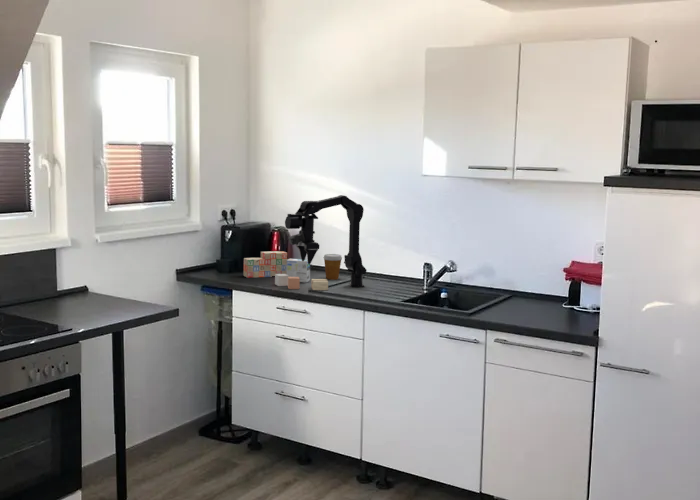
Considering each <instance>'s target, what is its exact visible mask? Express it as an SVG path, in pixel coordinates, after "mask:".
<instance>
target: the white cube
mask: <svg viewBox="0 0 700 500" xmlns="http://www.w3.org/2000/svg"><path fill="white" fill-rule="evenodd" d="M288 277H289V275H286V274H275V277H274V285H276V286H277V287H288Z"/></svg>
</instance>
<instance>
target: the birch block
mask: <svg viewBox="0 0 700 500" xmlns="http://www.w3.org/2000/svg"><path fill="white" fill-rule="evenodd" d="M310 281H311V283H310V284H311V286H310V287H311V289H312V290H313V291H328V290H329V281H328V279H326V278H310Z"/></svg>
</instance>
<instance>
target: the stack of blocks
mask: <svg viewBox="0 0 700 500" xmlns="http://www.w3.org/2000/svg"><path fill="white" fill-rule="evenodd" d="M287 260H288V252H286V251H283V250H282V251H278V250H277V251H276V250H273V251H272V250H271V251H260V257H244V258H243V276H244V277H246V278H247V279H250V278H271V277H272V276H275V274H286V273H287Z"/></svg>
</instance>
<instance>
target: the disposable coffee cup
mask: <svg viewBox="0 0 700 500" xmlns="http://www.w3.org/2000/svg"><path fill="white" fill-rule="evenodd" d="M342 258H343V257H342V255H341V254H336V253H326V254H324V255H323V260H324V272H325V279H327V280H330V281H331V280H332V281H335V280H336V281H337V280H339V277H340V272H341V271H340V269H341V265H342Z"/></svg>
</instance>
